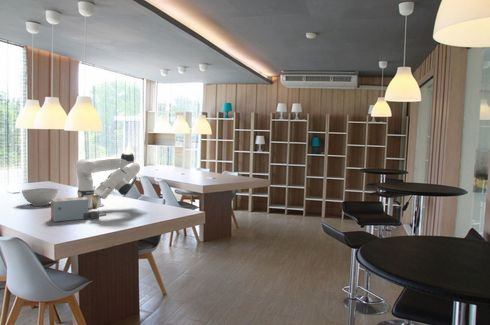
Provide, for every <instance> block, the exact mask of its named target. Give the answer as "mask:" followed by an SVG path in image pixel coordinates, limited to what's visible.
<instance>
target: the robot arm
mask: <svg viewBox="0 0 490 325" xmlns="http://www.w3.org/2000/svg"><path fill="white" fill-rule="evenodd" d="M134 156H135V155H134V154H133V152H129V151H127V152H123V153H121V156H120V157H119V156H118V157H117V156H110V157H99V158H94V159H84V158H82V159H79V160H78V161H77V162H76V164H75V168H76V174H77V181H78V182H77V188H78V189H77V197H86V198H87V199H88V209H92V195H94V194H96V195H97V198H96V199H95V200H94V201H95V202H97V208H100V207H104V206H105V204H104V203H102V201H101V199H103V200H106V199H107V197H108V196H110V194H111V193H112V192H113V191H114V190H116V191H117V192H118V193H119V194H120V195H122V196H127V195H128V194H129V193H130V192H131V190H132V188H133V186H134V184H135V183H136V181H137V179H138V178H137V175H138V174H139V172H140V170H141V166H140V164H139V163H137V162H135V157H134ZM108 171H113V172H111V173H110V174H109V175H108V176H107V178H106V179H105V180H104V181H101V182H100V183H99V185H98V186H97V188H96V189H94V180H93V176H92V175H93V174H95V173H101V172H108Z"/></svg>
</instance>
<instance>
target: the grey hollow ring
mask: <svg viewBox="0 0 490 325" xmlns="http://www.w3.org/2000/svg"><path fill="white" fill-rule="evenodd" d="M98 219H100V211H98V210H93V211H92V210H91V211H88V213H84V219H83V220H98Z"/></svg>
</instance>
